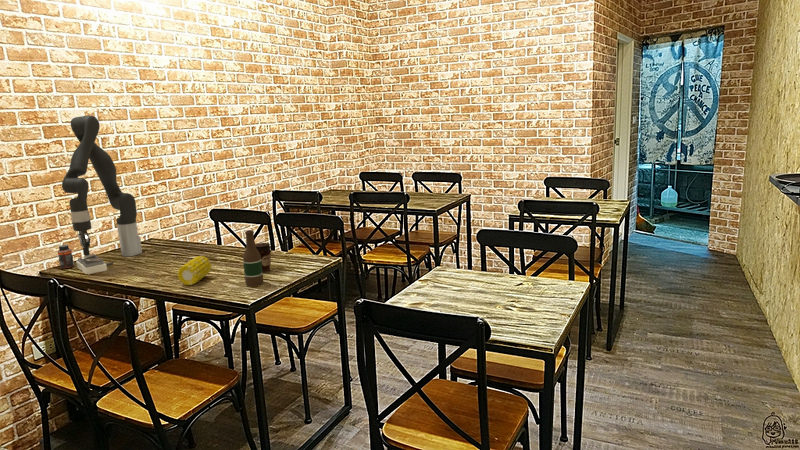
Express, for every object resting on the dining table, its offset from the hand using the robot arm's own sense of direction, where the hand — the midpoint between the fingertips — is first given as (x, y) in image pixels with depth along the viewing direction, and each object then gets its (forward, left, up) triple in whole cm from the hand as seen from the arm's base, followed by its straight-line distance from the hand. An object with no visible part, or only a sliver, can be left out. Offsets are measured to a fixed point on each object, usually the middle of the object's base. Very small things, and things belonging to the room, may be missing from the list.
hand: (86, 255), depth 255 cm
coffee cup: (-58, +65, -9) cm, 87 cm away
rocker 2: (-2, 0, -4) cm, 4 cm away
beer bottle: (-46, +78, -9) cm, 91 cm away
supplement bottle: (+6, -16, -9) cm, 19 cm away
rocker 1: (-2, -9, -4) cm, 10 cm away
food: (-30, +54, -9) cm, 62 cm away
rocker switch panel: (-5, -4, -8) cm, 10 cm away
